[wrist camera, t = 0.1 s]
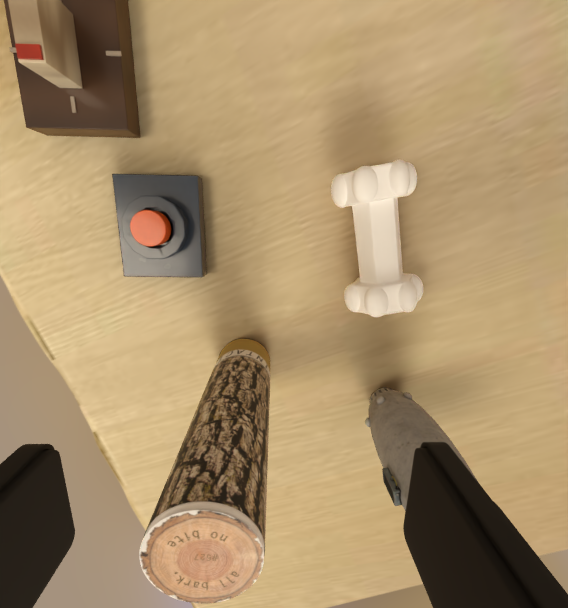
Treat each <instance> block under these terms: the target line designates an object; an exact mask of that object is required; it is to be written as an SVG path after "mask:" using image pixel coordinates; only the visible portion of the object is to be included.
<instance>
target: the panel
mask: <svg viewBox="0 0 568 608" xmlns="http://www.w3.org/2000/svg"><path fill="white" fill-rule="evenodd" d="M60 1H61V2H62V3H63V4H64V5H65V6H66V7H67V9H68V10H69V11H70V12H71V13H72V14H73V18H74V25H75V33H76V41H77V48H78V56H79V64H80V71H81V79H82V87H83V88H82V89H79V88H59V87H58V86H56V85H54V84H53V83H51V82H50V81H48V80H46V79H45V78H43V77H42V76H40V75H38V74H37V73H35V72H34V71H32V70H30V69H29V68H27V67H26V66H24V65H22V64H21V63H19V61H18V58H17V52H16V46H15V38H14V32H13V26H12V21H11V15H10V9H9V3H8V0H4V3H5V9H6V15H7V20H8V26H9V32H10V37H11V43H12V47H10V52H12V53H13V54H14V60H15V66H16V71H17V77H18V83H19V88H20V94H21V100H22V105H23V111H24V117H25V122H26V127H27V128H29V129H32V130H35V131H37V132H40V133H43V134H45V135H51V136H89V137H128V138H140V128H139V117H138V106H137V96H136V85H135V74H134V63H133V52H132V41H131V30H130V19H129V9H128V0H60Z"/></svg>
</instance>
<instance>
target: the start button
mask: <svg viewBox="0 0 568 608" xmlns="http://www.w3.org/2000/svg"><path fill="white" fill-rule="evenodd" d="M130 230H131V233H132V235H133V237H134V239H135V240H136V241H137V242H139V243H140V244H142V245H144V246H157V245H161V244H163V243H165V242H166V241H167V240H168V239H169V237H170V235H171V224H170V222H169V220H168V218H167V217H166V216H165V215H164V214H162V213H160V212H158V211H153V210H142V211H139V212H137V213H136V214H135V215H134V216H133V217H132V219H131V223H130Z"/></svg>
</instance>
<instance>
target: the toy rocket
mask: <svg viewBox="0 0 568 608" xmlns="http://www.w3.org/2000/svg"><path fill="white" fill-rule="evenodd" d="M365 424H366V425H367V426H368V427H371V433H372V437H373V440H374V444H375V447H376V450H377V453H378V456H379V458H380V461H381V463H382V466H383V479H384V483H385V485H386V487H387V490H388V492H389V494H390V496H391V498H392V501H393V503H394V505H395V506H399V505H402V506H403V507H404V509H405V511H406V506H407V499H408V492H409V485H410V479H411V472H412V465H413V458H414V452H415V449H416V448H420V446H421V444H422V443H423V442H445V443H447V444H448V445H449V446H450V447H451V448H452V450H453V451H454V452H455V453H456V455H457V456H458V457H459V459H460V460H461V461H462V462H463V464H464V465H465V466H466V468H467V469H468V470H469V471H470V473H471V474H472V475H473V473H472V471H471V470H470V468H469V466H468V465H467V463H466V461H465V460H464V459H463V457H462V456H461V454H460V453H459V451H458V450H457V449H456V447H455V446H454V444H453V443H452V442H451V440H450V439H449V438H448V436H447V435H446V434H445V433H444V431H443V430H442V429H441V428H440V426H439V425H438V424H437V423H436V422H435V420H434V419H433V418H432V417H431V416H430V415H429V414H428V413H427V412H426V411H425V410H424V409H423V408H422V407H420V406H419V405H418V404H417V403H416V402H414V401H413V400H412V396H411V394H410V393H402V392H399V391H394V390H392V389H390V388H380V389H378V390H376V391H375V392H374V393H373V394H372V396H371V398H370V406H369V418H366V420H365ZM473 477H474V478H475V476H474V475H473ZM475 479H476V478H475ZM477 482H478V481H477Z"/></svg>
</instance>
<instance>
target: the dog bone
mask: <svg viewBox="0 0 568 608" xmlns="http://www.w3.org/2000/svg"><path fill="white" fill-rule="evenodd" d="M416 184H417V173H416V169H415V167H414V166H413V164H411V163H409V162H405V161H403V160H401V159H398V160H395V161H394V162H391V163H385V164H379V165H374V166H361V167H359V168H358V169H357V170H354V171H351V172H347V173H344V174H343V173H341V174H338V175H336V176H335V177H334V178H333V180H332V184H331V195H332V199H333V201H334V203H335V204H336V205H337V206H338V207H341V208H342V207H346V206H352V210H353V219H354V228H355V237H356V246H357V255H358V265H359V274H360V277H358V278H357V279H356V281H354V282H353V283H352V284H349V285H348V286H347V287H346V289H345V292H344V299H345V303H346V306H347V307H348V309H349V310H350V311H352V312H361V313H365V314H369V315H370V316H372V317H381V316H383V315H388V314H393V313H399V312H412V311H413V310H414V309H415V307H416V305H417V301H419V300H420V299H421V297H422V295H423V283H422V281H421V279H420V278H419V277H418V276H417V275H416V274H406V273H403V268H402V254H401V240H400V227H399V213H398V199H397V197H402V196H403V197H404V196H408V195H410V194H411V193H412V192H413V191H414V189H415V187H416Z"/></svg>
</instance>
